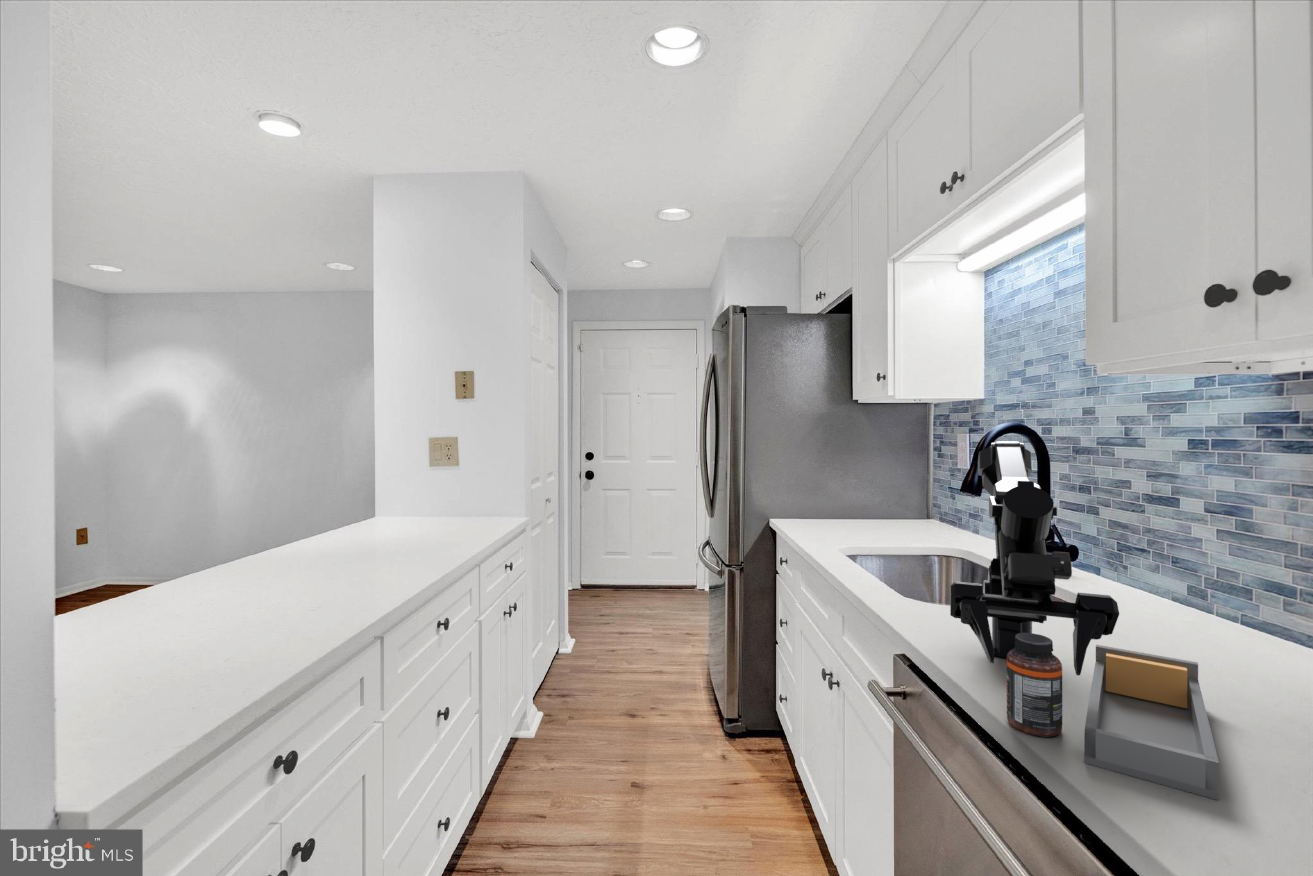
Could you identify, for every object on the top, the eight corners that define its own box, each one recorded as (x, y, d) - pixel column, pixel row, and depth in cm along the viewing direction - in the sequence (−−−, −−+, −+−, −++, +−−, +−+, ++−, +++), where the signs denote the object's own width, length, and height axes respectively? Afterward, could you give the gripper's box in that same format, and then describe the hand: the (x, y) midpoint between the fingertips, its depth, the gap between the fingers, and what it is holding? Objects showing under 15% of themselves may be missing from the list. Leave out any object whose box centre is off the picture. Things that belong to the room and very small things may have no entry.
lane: (1095, 684, 87) (1096, 644, 87) (1197, 705, 80) (1197, 662, 80) (1084, 762, 67) (1084, 711, 67) (1218, 800, 60) (1219, 743, 60)
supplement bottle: (1010, 711, 79) (1010, 626, 79) (1064, 725, 75) (1065, 636, 75) (1002, 728, 75) (1002, 639, 74) (1059, 744, 71) (1059, 649, 71)
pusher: (1106, 681, 85) (1106, 647, 85) (1185, 697, 80) (1185, 661, 80) (1105, 691, 82) (1105, 655, 82) (1187, 708, 77) (1187, 670, 77)
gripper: (950, 523, 83) (951, 625, 73) (1115, 532, 75) (1141, 648, 65) (950, 568, 90) (950, 666, 81) (1100, 580, 82) (1122, 692, 72)
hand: (1034, 667), depth 75 cm, fingers open, 9 cm apart
